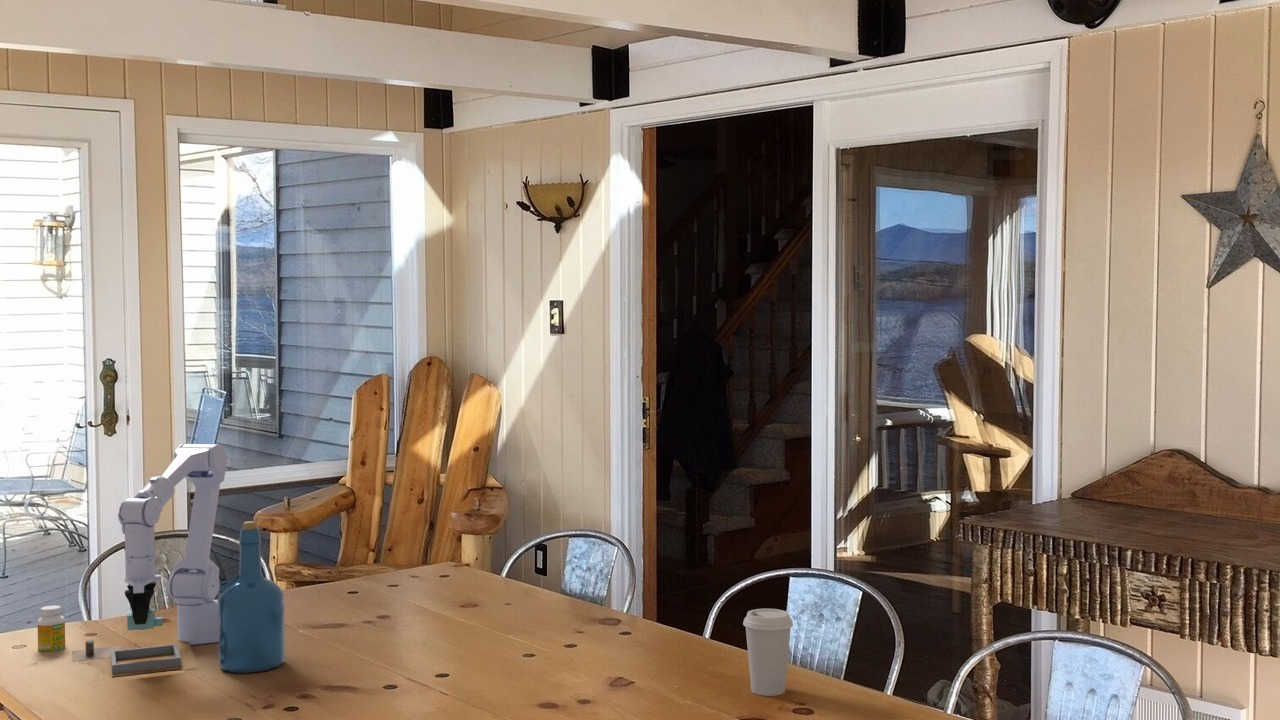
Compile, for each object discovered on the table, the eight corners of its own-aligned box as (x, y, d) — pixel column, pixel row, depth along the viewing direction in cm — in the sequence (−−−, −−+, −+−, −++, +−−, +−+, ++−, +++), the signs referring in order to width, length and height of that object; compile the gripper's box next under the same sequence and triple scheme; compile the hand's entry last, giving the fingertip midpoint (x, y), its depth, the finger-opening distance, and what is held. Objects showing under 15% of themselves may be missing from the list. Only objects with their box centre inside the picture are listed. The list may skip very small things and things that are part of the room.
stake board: (122, 649, 271) (122, 633, 271) (123, 659, 263) (123, 643, 263) (71, 654, 267) (71, 638, 267) (71, 665, 259) (71, 648, 259)
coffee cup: (739, 684, 242) (739, 608, 242) (787, 682, 243) (787, 606, 243) (747, 699, 233) (747, 620, 232) (798, 697, 234) (797, 618, 233)
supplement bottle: (54, 655, 266) (53, 610, 266) (32, 654, 267) (31, 609, 267) (70, 649, 271) (69, 605, 271) (49, 648, 272) (48, 604, 272)
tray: (176, 655, 266) (176, 643, 266) (181, 669, 255) (180, 657, 255) (110, 662, 260) (110, 650, 260) (112, 677, 249) (111, 665, 249)
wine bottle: (298, 660, 262) (296, 518, 261) (259, 677, 249) (256, 528, 248) (243, 654, 266) (241, 515, 265) (202, 671, 254) (200, 525, 253)
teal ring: (129, 624, 259) (128, 610, 259) (163, 622, 261) (162, 607, 261) (127, 630, 255) (127, 615, 254) (161, 627, 257) (161, 613, 257)
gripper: (159, 560, 252) (160, 627, 252) (162, 548, 265) (163, 611, 266) (121, 563, 249) (122, 630, 250) (126, 550, 263) (127, 614, 264)
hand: (141, 620), depth 258 cm, fingers closed on teal ring, 5 cm apart
